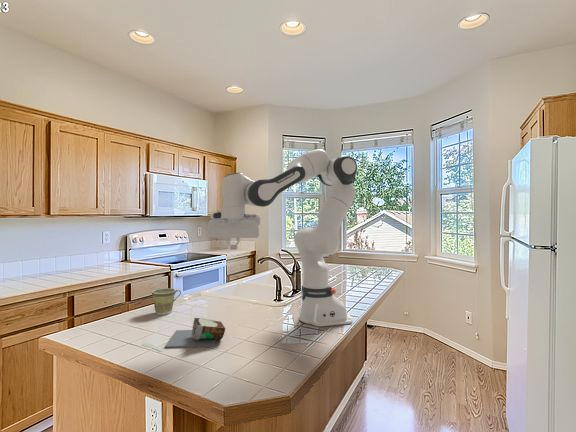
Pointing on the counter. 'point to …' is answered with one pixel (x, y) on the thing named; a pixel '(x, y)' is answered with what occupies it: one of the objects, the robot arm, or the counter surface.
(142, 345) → the butter knife
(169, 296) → the ceramic cup
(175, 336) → the mat
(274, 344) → the counter surface
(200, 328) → the food container
